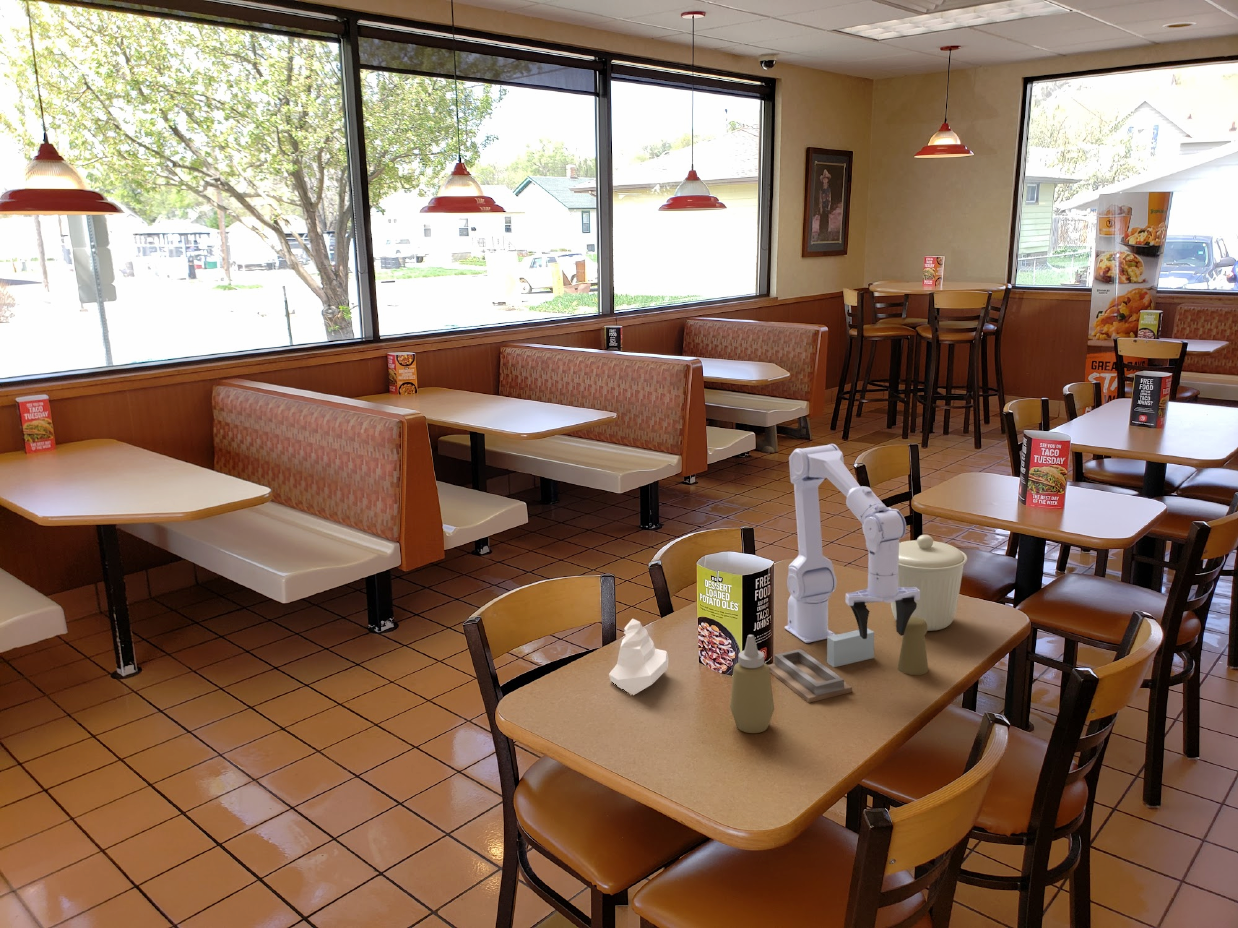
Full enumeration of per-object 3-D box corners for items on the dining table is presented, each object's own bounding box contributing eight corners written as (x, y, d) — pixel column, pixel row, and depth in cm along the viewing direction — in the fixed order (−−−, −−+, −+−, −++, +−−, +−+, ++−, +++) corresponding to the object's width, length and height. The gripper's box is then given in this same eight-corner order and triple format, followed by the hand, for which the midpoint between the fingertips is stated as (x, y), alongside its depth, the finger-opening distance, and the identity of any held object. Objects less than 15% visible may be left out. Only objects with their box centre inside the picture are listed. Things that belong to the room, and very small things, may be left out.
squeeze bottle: (763, 741, 164) (762, 648, 160) (723, 730, 168) (720, 640, 164) (781, 721, 171) (780, 631, 167) (741, 711, 175) (739, 624, 171)
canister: (868, 626, 210) (869, 539, 205) (901, 601, 223) (903, 519, 219) (946, 645, 199) (949, 553, 194) (976, 618, 212) (980, 531, 207)
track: (766, 669, 192) (766, 656, 191) (807, 660, 195) (807, 646, 194) (808, 702, 177) (808, 688, 176) (852, 691, 180) (852, 677, 180)
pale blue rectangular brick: (833, 667, 191) (834, 641, 190) (827, 662, 193) (827, 636, 192) (873, 658, 195) (874, 632, 193) (866, 653, 197) (867, 627, 195)
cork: (895, 672, 188) (896, 622, 185) (900, 660, 193) (902, 611, 190) (925, 677, 185) (927, 626, 182) (930, 664, 190) (932, 615, 188)
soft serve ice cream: (600, 701, 185) (583, 634, 184) (631, 675, 198) (615, 612, 198) (655, 696, 179) (637, 626, 179) (683, 670, 192) (667, 605, 192)
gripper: (854, 581, 174) (853, 646, 178) (927, 574, 176) (925, 640, 179) (841, 568, 181) (841, 632, 184) (912, 562, 183) (910, 625, 186)
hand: (881, 635), depth 182 cm, fingers open, 7 cm apart
